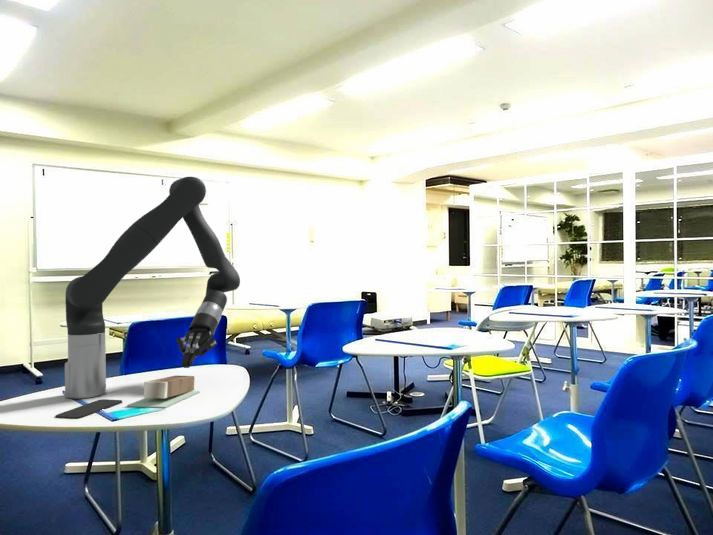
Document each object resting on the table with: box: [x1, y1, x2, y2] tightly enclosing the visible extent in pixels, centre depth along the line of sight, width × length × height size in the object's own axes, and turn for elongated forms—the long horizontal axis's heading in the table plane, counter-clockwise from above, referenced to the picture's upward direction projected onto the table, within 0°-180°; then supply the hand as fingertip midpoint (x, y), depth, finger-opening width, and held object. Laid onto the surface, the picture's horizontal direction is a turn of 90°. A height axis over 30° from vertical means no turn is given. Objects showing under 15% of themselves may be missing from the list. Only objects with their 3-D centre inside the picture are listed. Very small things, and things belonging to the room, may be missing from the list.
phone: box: [54, 398, 123, 420], centre depth 120 cm, size 7×1×15 cm
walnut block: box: [143, 375, 195, 399], centre depth 131 cm, size 6×4×14 cm
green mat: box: [126, 390, 201, 409], centre depth 129 cm, size 11×16×1 cm
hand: (185, 366), depth 139 cm, fingers closed
